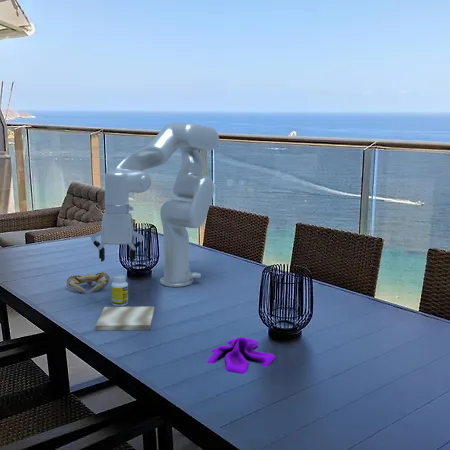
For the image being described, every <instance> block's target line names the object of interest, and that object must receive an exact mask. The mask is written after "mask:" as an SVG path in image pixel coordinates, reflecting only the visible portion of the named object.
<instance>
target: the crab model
mask: <svg viewBox="0 0 450 450" xmlns="http://www.w3.org/2000/svg"><path fill="white" fill-rule="evenodd" d="M103 277H104V278H105V280H104V279H103ZM93 282H95V283H97V284H95V285H93V288H91V289H90V291H89V293H94V292H96V291H98V290H99V289H100V290H101V288H103V287H104V286H107V285H108V284H109V283H110V276H109V274H107V272H104V271H100V272H97V273H95V274H85V275H80V274H76V275H71V276H69V277H68V279H67V280H66V287H67V289H68V291H71V288H70V287H72V288H73V289H74V290H76V291H79V292H81V293H83V294H85V293H87V290H86V289H85V288H84V287H82V286H81V285H82V284H87V285H89V286H91V284H93Z"/></svg>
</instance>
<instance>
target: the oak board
mask: <svg viewBox="0 0 450 450" xmlns="http://www.w3.org/2000/svg"><path fill="white" fill-rule="evenodd" d="M154 314H155V306H104V307H103V309H102V311H101V313H100V315H99V317H98V320H97V322H96V323H95V326H94V327H95V328H94V329H95V331H150V330H151V328H152V324H153V318H154Z"/></svg>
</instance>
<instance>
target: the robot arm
mask: <svg viewBox="0 0 450 450" xmlns="http://www.w3.org/2000/svg"><path fill="white" fill-rule="evenodd" d="M219 141H220V136H219V133H218V131H217V130H216V129H215V128H213V127H211V126H206V125H201V124H196V123H194V122H193V123H191V122H169V123H168V124H166V125H165V126H163V128H162V129H161V130H160V131H159V132H158V134H156V136H155V137H154V138H153V139H152V140H151V141H150V142H149V143H148V144H147V146H145V147H143V148H141V149H138V150H137V151H135V152H132V154H130V155H128V156H126V157H125V158H124V159H122V160H121V161H120V162H119V163H118V164H117V166H116V167H115V168H114V170H112V171H110V170H109V171H107V172H105V174H104V205H105V206H104V210H105V212H103V215H102V221H101V230H99V231H97V232H96V233H93V234H91V235H90V240H91V242H92V243H93V245H94V246H95V248H97V249H98V256H99V259H100V262H101V263H102V262H104V261H105V260H106V256H105V254H106V253H105V252H106V251H105V250H106V248H104V247H105V246H106V245H125V246H126V245H128V246H129V247H130V263H134V261H135V259H136V256H137V255H136V253H137V251H136V250H137V249H138V248H139V247H140V246H141V244H142V242H143V241H144V239H145V236H144V235H142V234H141V233H139V232H137V231H135V230H134V223H133V215H132V212H130V211H134V205H133V206H132V205H130V204H129V202H130V198H129V197H130V196H129V194H130V193H131V194H132V193H134V194H135V193H136V194H142V193H145V192H146V191H148V190H149V189H150V187H151V184H152V179H151V175H149V174H148V173H147V172H146V171H145V170H148V169H149V170H150V169H152V168H157V167H159V166H162V165H164V164H166V163H167V162H168V160H169V159H170V158H171V157H172V156H173V154H175V152H176V151H177V150H178V149H179V151H180V154H181V164H180V167H179V170H178V171H177V175H176V177H175V180H174V184H173V187H172V192H173V194H174V196H175V197H177V198H178V199H169V200H166V201H165V202H163V204H162V205H161V207H160V211H159V214H160V215H159V216H160V220H161V225H162V233H163V234H162V235H163V240H162V241H163V276H162V277H161V278H160V279H159V283H160V284H161V285H162V286H166V287H173V288H177V287H178V288H179V287H185V286H190V285H192V284H193V283H194V279H201V278H202V277H201V276H202V274H201V273H200V272H198V271H196V272H195V271H194V272H192V271H191V269H190V238H189V237H190V236H189V232H188V230H187V228H189V229H199V228H200V227H202V226H203V225H204V223H205V221H206V218H207V216H208V213H209V209H210V206H211V203H212V200H213V197H214V193H215V184H214V181H213V180H212V178H211V177H210V176H208V175H203V174H202V173H203V169H204V160H203V157H202V156H201V154H200V151H208V152H210V151H213V150H215V149H216V148H217V146H218V145H219V143H220V142H219ZM179 199H181V200H179ZM182 199H183V200H182ZM187 200H190V201H187ZM98 237H100V238H101V239H100V241H101V243H100V242H99V241H98V239H97V238H98ZM134 237H135V238H137V239H138V240H137V242H134Z"/></svg>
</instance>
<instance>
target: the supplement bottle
mask: <svg viewBox="0 0 450 450" xmlns="http://www.w3.org/2000/svg"><path fill="white" fill-rule="evenodd" d="M126 280H127V279H126V274H115V275H113V282H112V283H111V304H112V306H113V307H126V306H127V305H128V304H129V283H128V281H126Z"/></svg>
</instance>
